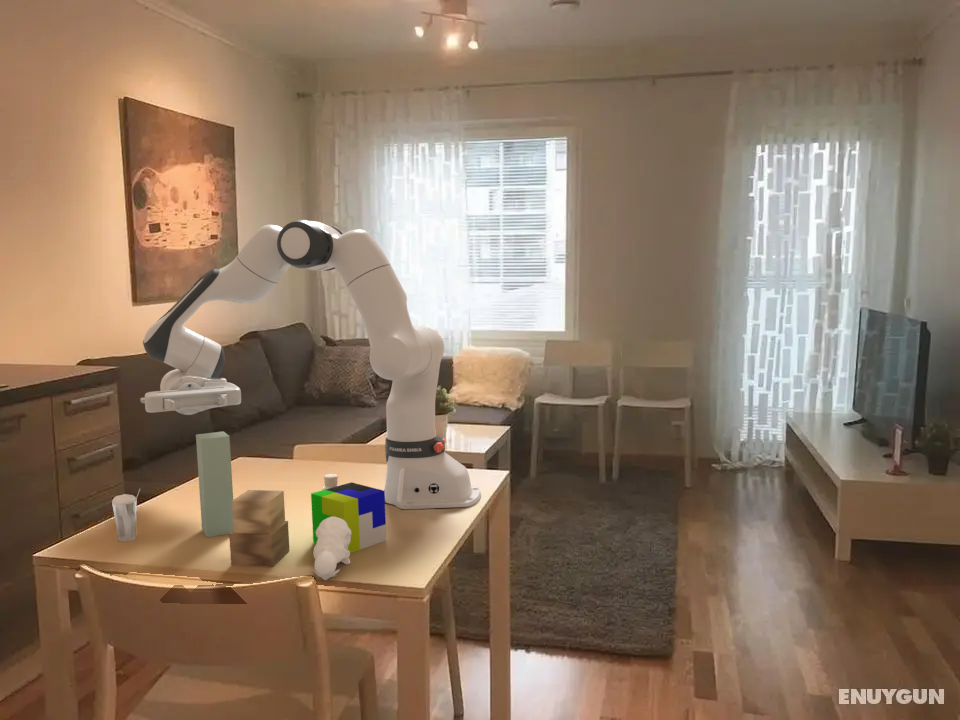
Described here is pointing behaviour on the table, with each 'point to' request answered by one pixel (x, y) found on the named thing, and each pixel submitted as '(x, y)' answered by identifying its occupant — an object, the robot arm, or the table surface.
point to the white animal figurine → (331, 546)
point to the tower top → (258, 511)
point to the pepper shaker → (330, 481)
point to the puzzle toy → (352, 512)
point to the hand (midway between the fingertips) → (199, 404)
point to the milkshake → (125, 516)
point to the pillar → (215, 483)
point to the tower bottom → (259, 547)
